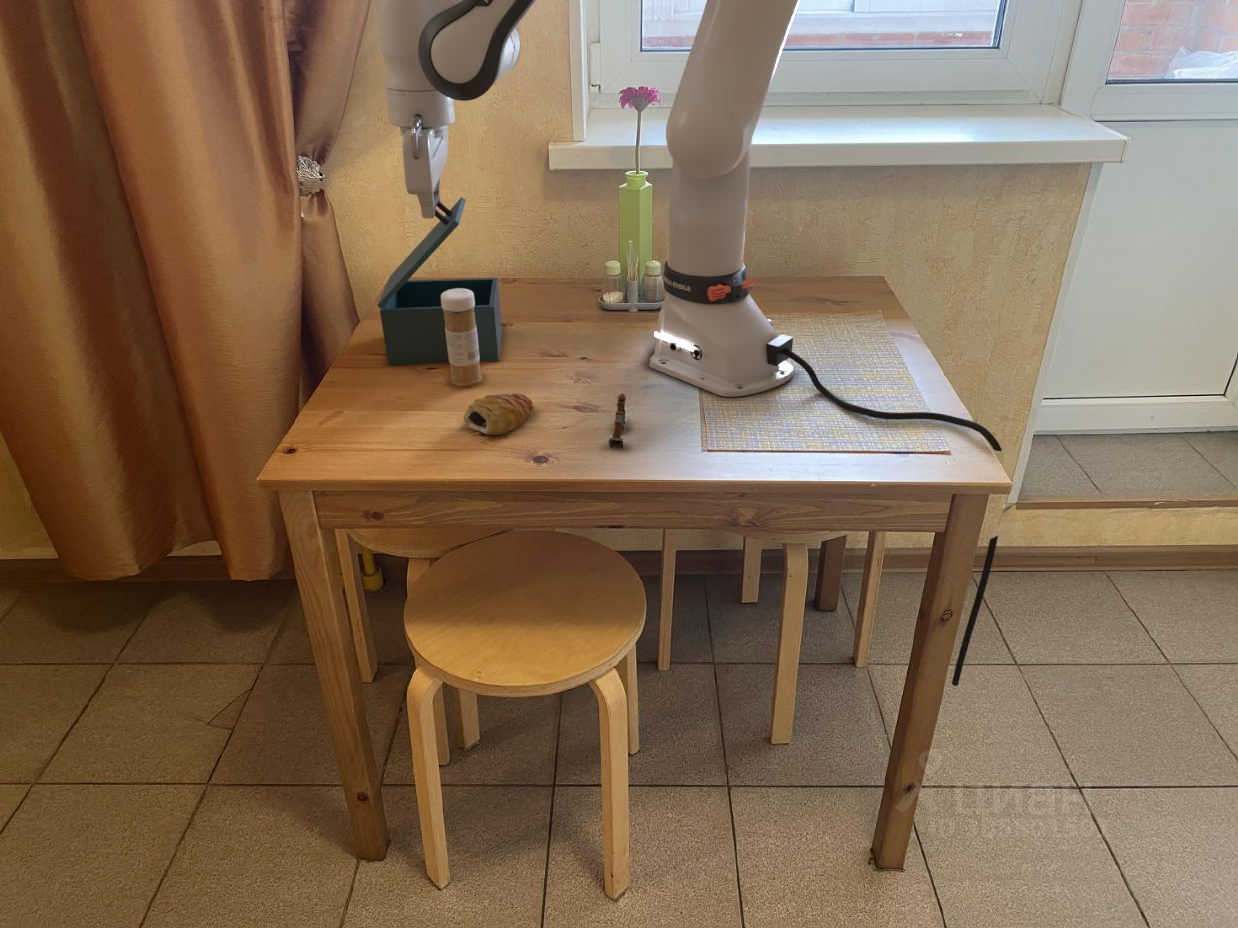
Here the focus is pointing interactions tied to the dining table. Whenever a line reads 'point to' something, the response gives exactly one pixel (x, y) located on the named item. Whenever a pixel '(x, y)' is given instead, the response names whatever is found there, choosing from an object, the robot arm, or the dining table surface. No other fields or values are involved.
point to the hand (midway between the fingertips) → (431, 210)
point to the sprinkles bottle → (461, 336)
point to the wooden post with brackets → (618, 424)
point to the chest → (437, 320)
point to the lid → (424, 247)
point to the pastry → (498, 413)
